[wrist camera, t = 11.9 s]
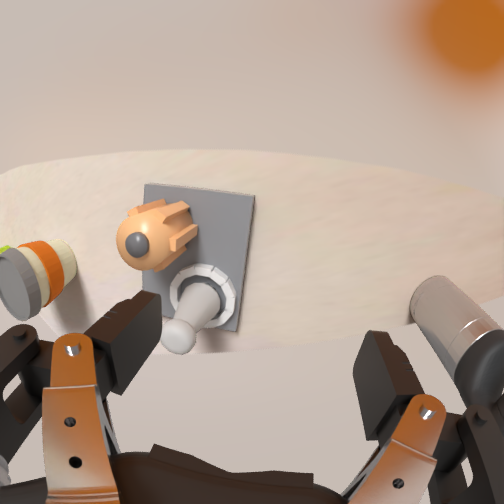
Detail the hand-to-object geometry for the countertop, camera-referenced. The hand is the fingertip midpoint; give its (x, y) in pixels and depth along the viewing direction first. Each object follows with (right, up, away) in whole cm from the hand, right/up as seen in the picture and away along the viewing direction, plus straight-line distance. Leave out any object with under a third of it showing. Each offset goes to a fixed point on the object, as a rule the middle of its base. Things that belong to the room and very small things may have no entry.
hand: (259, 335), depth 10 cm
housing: (-9, +2, +32) cm, 34 cm away
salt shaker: (-7, -3, +32) cm, 33 cm away
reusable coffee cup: (-38, +1, +37) cm, 53 cm away
